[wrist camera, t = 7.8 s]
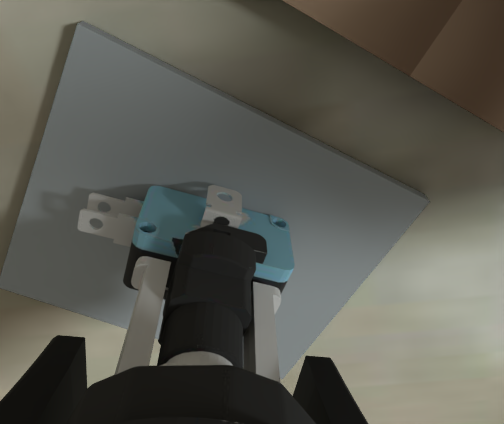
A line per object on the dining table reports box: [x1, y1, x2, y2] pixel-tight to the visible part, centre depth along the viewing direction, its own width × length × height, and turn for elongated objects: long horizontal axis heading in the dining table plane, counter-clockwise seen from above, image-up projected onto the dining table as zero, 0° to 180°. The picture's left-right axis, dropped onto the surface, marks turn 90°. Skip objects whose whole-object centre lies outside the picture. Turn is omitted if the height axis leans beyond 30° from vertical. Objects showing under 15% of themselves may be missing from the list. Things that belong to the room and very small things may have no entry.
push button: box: [66, 185, 316, 424], centre depth 10 cm, size 7×5×10 cm
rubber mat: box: [0, 21, 430, 379], centre depth 15 cm, size 12×10×1 cm
